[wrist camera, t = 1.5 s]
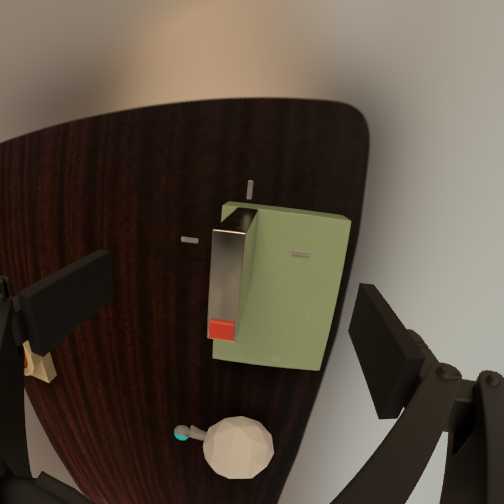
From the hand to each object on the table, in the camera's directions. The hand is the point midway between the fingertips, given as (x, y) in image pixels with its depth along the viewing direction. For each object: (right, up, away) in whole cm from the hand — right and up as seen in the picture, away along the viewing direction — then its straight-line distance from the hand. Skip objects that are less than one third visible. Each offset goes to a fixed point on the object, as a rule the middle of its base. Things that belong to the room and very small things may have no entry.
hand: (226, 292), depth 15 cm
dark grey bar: (+1, +2, +9) cm, 9 cm away
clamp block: (+2, 0, +12) cm, 13 cm away
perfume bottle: (-2, -19, +18) cm, 26 cm away
